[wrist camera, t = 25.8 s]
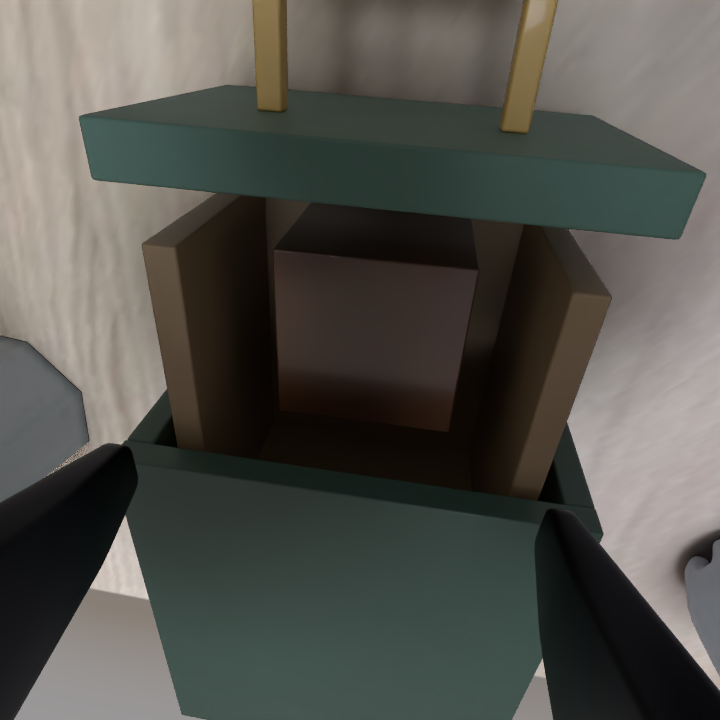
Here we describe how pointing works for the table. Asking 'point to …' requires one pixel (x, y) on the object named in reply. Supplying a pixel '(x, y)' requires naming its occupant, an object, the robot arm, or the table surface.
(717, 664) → the bottle
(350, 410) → the block
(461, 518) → the cabinet
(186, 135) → the drawer
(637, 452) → the table surface
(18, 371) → the coffee maker
